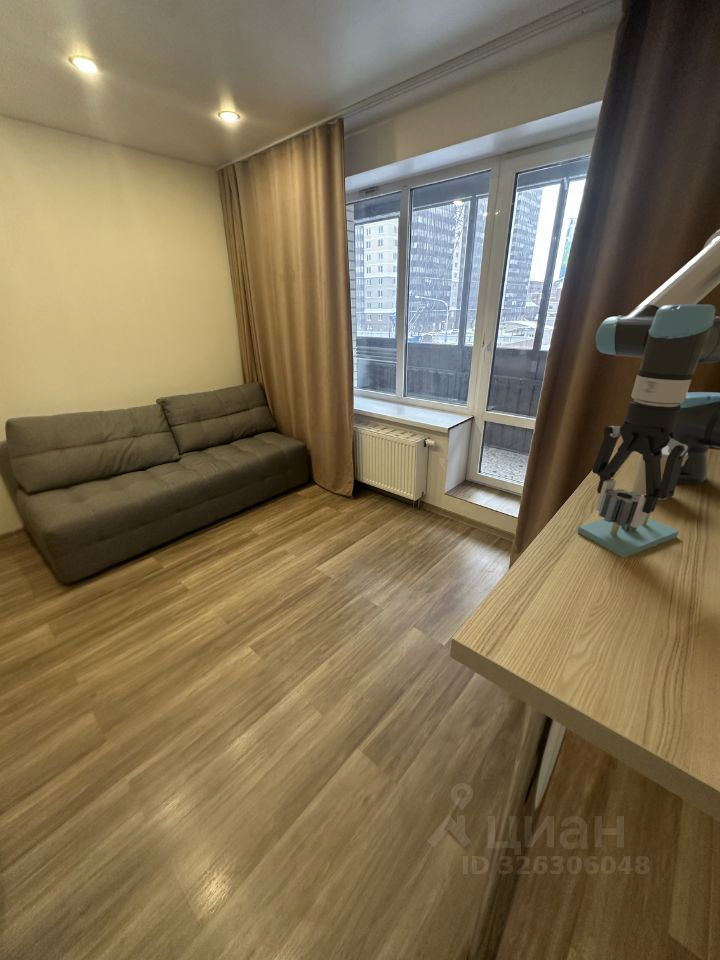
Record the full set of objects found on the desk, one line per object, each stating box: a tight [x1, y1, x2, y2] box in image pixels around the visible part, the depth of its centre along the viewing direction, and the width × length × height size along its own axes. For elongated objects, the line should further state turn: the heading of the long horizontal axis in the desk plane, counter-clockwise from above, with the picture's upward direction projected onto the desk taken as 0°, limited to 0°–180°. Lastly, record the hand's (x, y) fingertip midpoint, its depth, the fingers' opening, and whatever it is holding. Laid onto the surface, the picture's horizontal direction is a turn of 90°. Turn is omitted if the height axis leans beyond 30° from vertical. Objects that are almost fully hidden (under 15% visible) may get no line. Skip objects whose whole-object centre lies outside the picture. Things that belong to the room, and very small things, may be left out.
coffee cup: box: [631, 445, 688, 501], centre depth 94 cm, size 9×9×12 cm
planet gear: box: [598, 488, 640, 526], centre depth 74 cm, size 6×6×5 cm
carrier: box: [577, 513, 680, 559], centre depth 77 cm, size 17×10×8 cm, turn 114°
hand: (618, 516), depth 75 cm, fingers closed on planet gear, 6 cm apart
